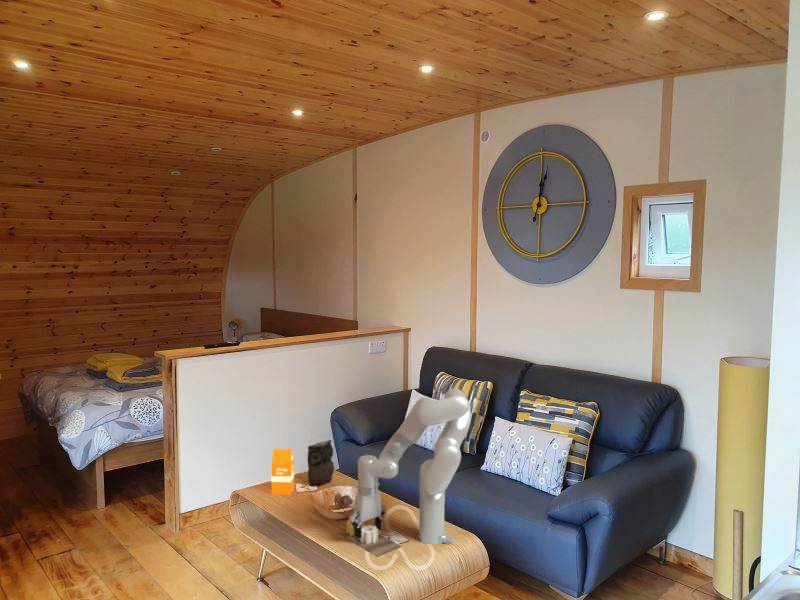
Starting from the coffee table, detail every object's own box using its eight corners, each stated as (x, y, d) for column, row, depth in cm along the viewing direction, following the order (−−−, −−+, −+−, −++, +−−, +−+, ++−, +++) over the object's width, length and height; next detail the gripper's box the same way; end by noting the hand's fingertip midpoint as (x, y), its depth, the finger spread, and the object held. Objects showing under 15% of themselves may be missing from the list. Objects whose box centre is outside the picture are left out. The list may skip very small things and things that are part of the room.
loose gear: (381, 539, 233) (381, 529, 233) (367, 545, 228) (367, 534, 228) (369, 533, 238) (370, 523, 238) (355, 538, 233) (355, 528, 233)
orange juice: (290, 495, 279) (290, 452, 277) (271, 494, 279) (271, 451, 278) (294, 488, 287) (293, 446, 285) (275, 488, 287) (275, 446, 285)
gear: (368, 530, 240) (368, 520, 240) (359, 537, 234) (359, 527, 234) (352, 526, 244) (352, 517, 243) (343, 534, 237) (343, 524, 237)
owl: (334, 478, 300) (334, 438, 298) (329, 488, 287) (329, 446, 286) (309, 477, 301) (309, 437, 299) (303, 487, 288) (302, 445, 287)
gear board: (402, 550, 228) (402, 538, 227) (376, 560, 220) (377, 548, 219) (362, 528, 246) (362, 517, 245) (337, 537, 238) (337, 526, 237)
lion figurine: (354, 516, 257) (354, 495, 256) (343, 519, 254) (343, 498, 253) (337, 504, 269) (337, 484, 268) (326, 507, 266) (326, 487, 265)
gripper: (379, 480, 240) (379, 523, 242) (343, 491, 229) (343, 536, 230) (391, 486, 235) (391, 529, 236) (355, 497, 223) (355, 543, 225)
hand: (368, 532), depth 233 cm, fingers open, 9 cm apart
